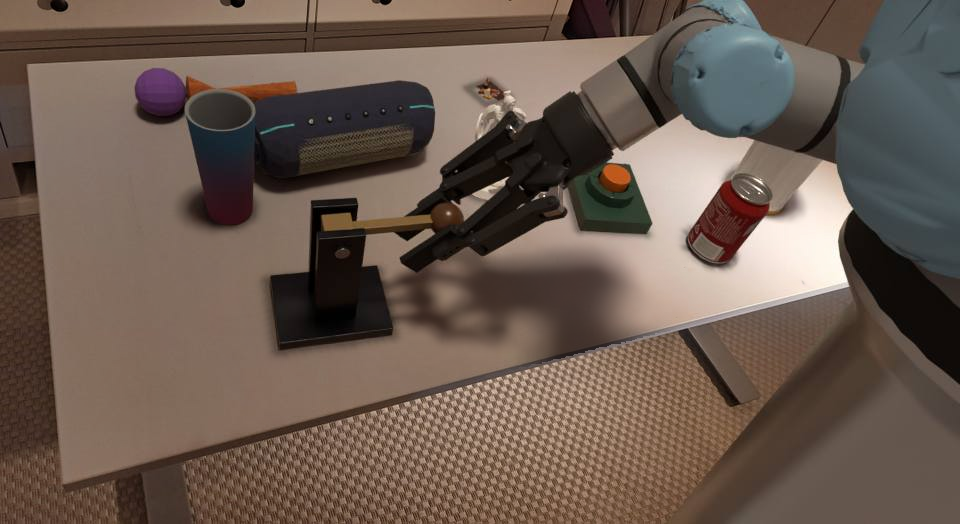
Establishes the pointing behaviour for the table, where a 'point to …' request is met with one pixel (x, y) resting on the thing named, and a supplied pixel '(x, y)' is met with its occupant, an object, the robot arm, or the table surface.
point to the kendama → (191, 91)
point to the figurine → (497, 114)
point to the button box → (609, 204)
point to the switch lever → (397, 221)
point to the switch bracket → (331, 287)
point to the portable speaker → (341, 127)
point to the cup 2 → (777, 170)
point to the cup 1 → (224, 151)
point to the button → (614, 178)
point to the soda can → (730, 218)
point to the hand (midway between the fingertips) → (403, 249)
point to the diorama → (491, 90)
